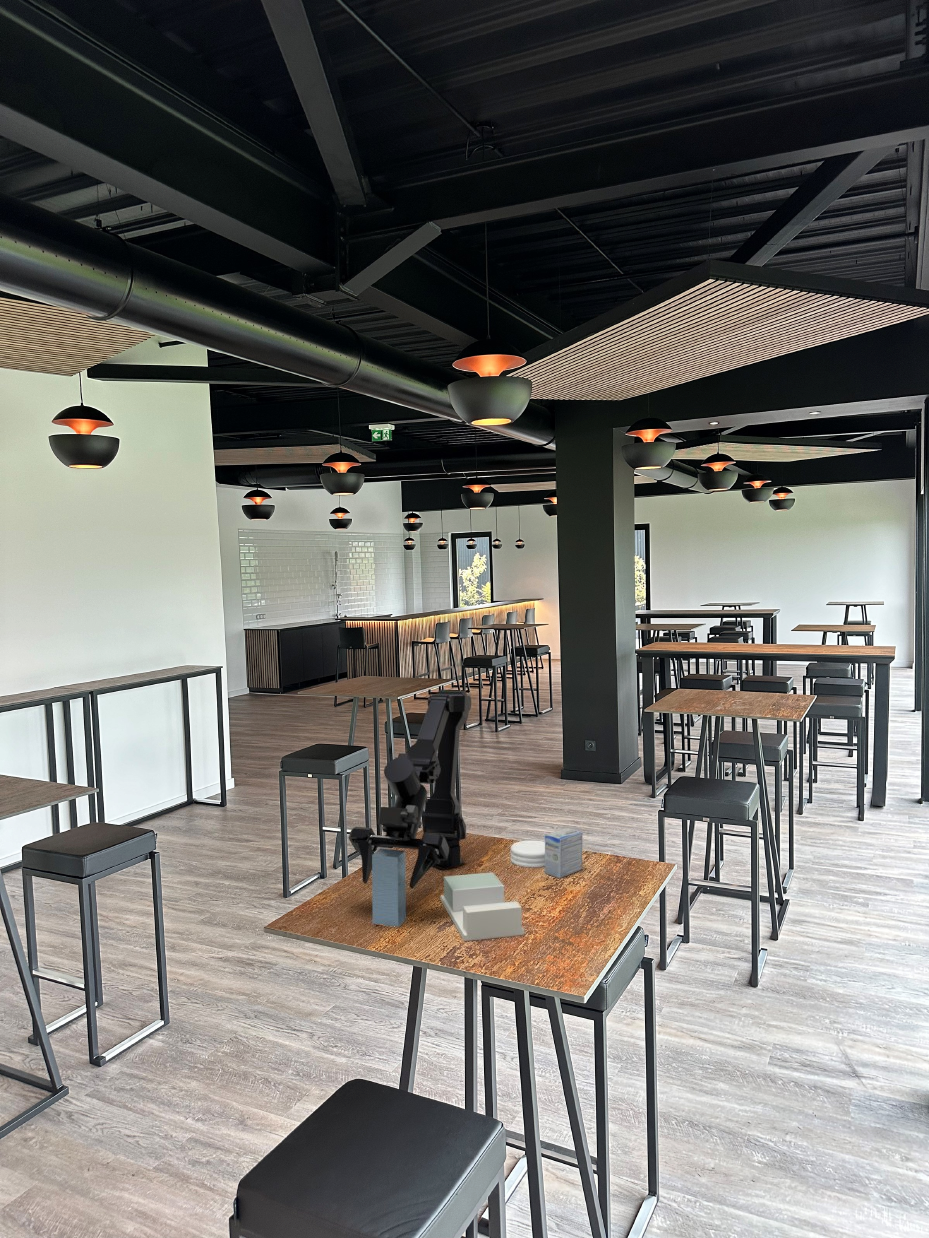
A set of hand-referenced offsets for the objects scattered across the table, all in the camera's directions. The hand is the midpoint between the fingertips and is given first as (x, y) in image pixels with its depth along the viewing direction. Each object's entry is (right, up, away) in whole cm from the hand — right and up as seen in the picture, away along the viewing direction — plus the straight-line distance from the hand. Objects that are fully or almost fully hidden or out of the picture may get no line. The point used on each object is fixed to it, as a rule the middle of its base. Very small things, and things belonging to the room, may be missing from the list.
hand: (387, 884), depth 151 cm
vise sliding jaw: (+16, -6, +8) cm, 19 cm away
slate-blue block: (0, -7, +1) cm, 7 cm away
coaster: (+30, -7, +36) cm, 47 cm away
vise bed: (+17, -7, +3) cm, 19 cm away
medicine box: (+36, -7, +28) cm, 46 cm away
